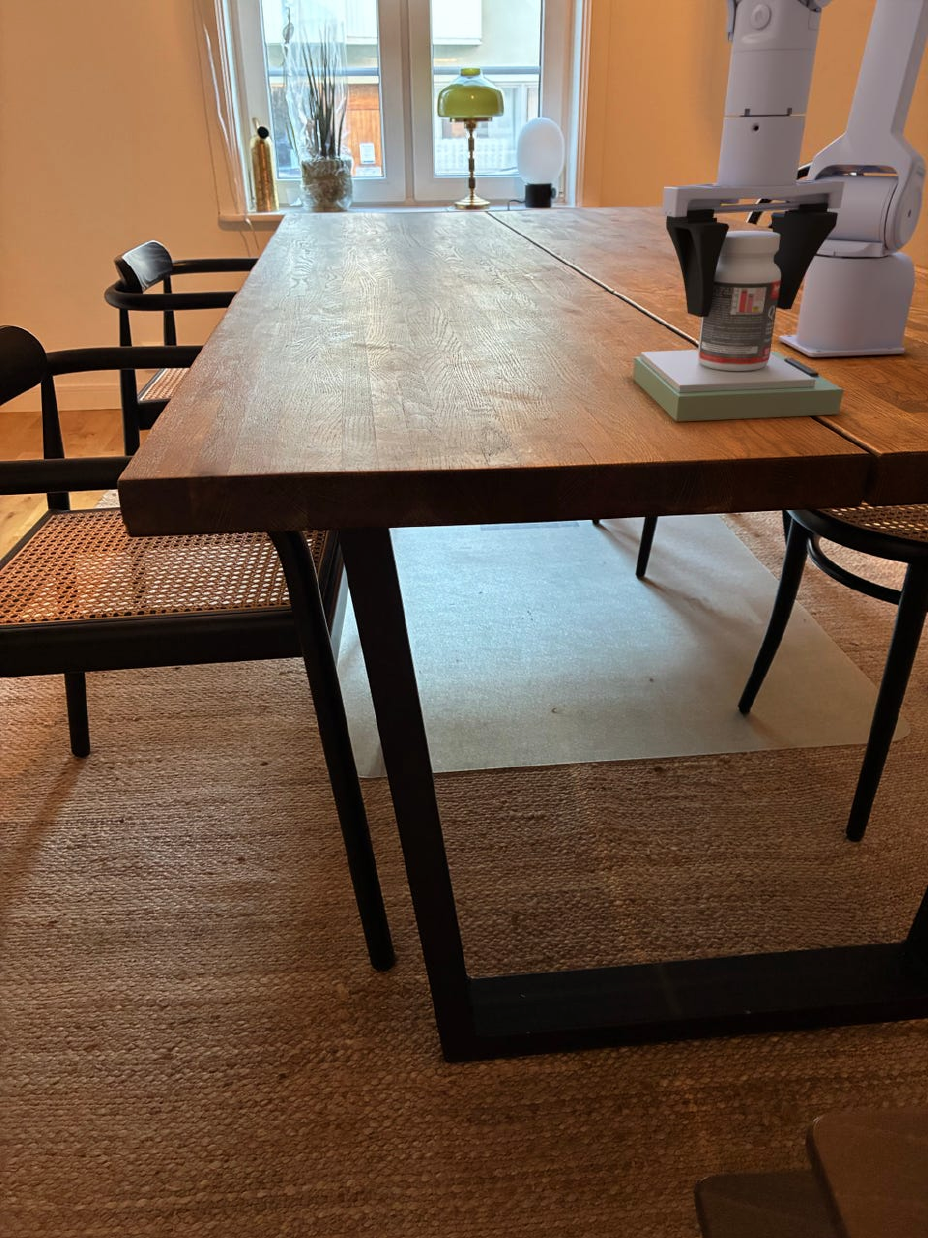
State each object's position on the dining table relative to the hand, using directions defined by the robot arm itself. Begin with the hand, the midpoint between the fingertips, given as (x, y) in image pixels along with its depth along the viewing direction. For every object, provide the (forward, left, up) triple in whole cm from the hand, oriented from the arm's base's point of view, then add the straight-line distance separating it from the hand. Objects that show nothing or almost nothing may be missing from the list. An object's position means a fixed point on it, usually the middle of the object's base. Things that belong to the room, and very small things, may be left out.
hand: (739, 311), depth 71 cm
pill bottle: (0, 0, -4) cm, 4 cm away
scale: (0, 0, -7) cm, 7 cm away
